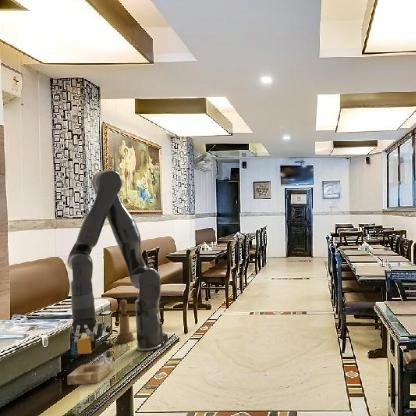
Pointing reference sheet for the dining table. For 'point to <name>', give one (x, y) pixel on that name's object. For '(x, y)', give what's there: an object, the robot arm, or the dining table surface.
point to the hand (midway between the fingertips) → (86, 350)
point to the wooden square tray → (88, 373)
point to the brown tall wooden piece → (124, 325)
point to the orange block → (84, 345)
